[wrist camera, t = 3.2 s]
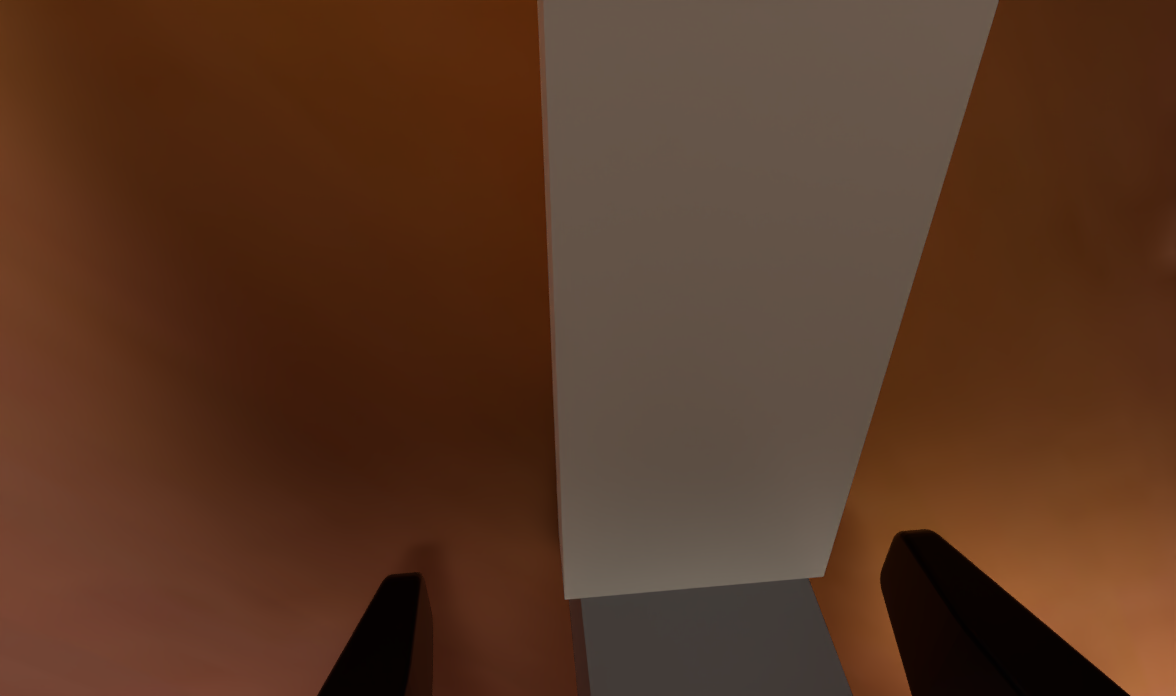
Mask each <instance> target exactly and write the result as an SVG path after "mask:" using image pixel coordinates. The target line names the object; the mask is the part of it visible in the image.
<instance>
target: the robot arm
mask: <svg viewBox="0 0 1176 696" xmlns="http://www.w3.org/2000/svg"><path fill="white" fill-rule="evenodd" d="M880 584H881V590H882V594H883V597H884V601H885V604H886V607H887V611H888V614H889V618H890V621H891V625H892V628H893V632H894V635H895V639H896V642H897V646H898V649H899V652H900V656H901V659H902V663H903V666H904V670H905V673H906V677H907V680H908V684H909V687H910V691H911V694H912V696H1130V695H1129V694H1128V693H1127V692H1125V691H1124V690H1123V689H1122V688H1121V687H1119V686H1118V685H1117V684H1116V683H1115V682H1114V681H1112V680H1111V679H1110V678H1109V677H1108V676H1106V675H1105V674H1104V673H1103V672H1102V671H1100V670H1099V669H1098V668H1097V667H1096V666H1094V665H1093V664H1092V663H1091V662H1090V661H1089V660H1087V659H1086V658H1085V657H1084V656H1083V655H1081V654H1080V653H1079V652H1078V651H1077V650H1075V649H1074V648H1073V647H1072V646H1071V645H1069V644H1068V643H1067V642H1066V641H1065V640H1064V639H1062V638H1061V637H1060V636H1059V635H1058V634H1056V633H1055V632H1054V631H1053V630H1052V629H1050V628H1049V627H1048V626H1047V625H1046V624H1044V623H1043V622H1042V621H1041V620H1040V619H1039V618H1037V617H1036V616H1035V615H1034V614H1033V613H1031V612H1030V611H1029V610H1028V609H1027V608H1025V607H1024V606H1023V605H1022V604H1021V603H1019V602H1018V601H1017V600H1016V599H1015V598H1014V597H1012V596H1011V595H1010V594H1009V593H1008V592H1006V591H1005V590H1004V589H1003V588H1002V587H1000V586H999V585H998V584H997V583H996V582H994V581H993V580H992V579H991V578H990V577H989V576H987V575H986V574H985V573H984V572H983V571H981V570H980V569H979V568H978V567H977V566H975V565H974V564H973V563H972V562H971V561H969V560H968V559H967V558H966V557H965V556H964V555H962V554H961V553H960V552H959V551H958V550H956V549H955V548H954V547H953V546H952V545H950V544H949V543H948V542H947V541H946V540H944V539H943V538H942V537H941V536H940V535H938V534H937V533H935V532H933V531H931V530H927V529H921V530H909V531H901V532H899V533H897V534H896V535H895V536H894V538H893V541H892V543H891V546H890V549H889V551H888V554H887V557H886V559H885V562H884V564H883V567H882V570H881V575H880ZM432 682H433V621H432V613H431V608H430V603H429V598H428V594H427V589H426V585H425V580H424V577H423V576H422V574H421V573H418V572H413V573H402V574H392V575H389V576H387V577H386V578H385V579H384V580H383V582H382V583H381V585H380V587H379V588H378V590H377V592H376V594H375V595H374V597H373V599H372V601H371V602H370V604H369V606H368V608H367V609H366V611H365V613H364V615H363V616H362V618H361V620H360V622H359V623H358V625H357V627H356V629H355V630H354V632H353V634H352V636H351V637H350V639H349V641H348V643H347V644H346V646H345V648H344V650H343V651H342V653H341V655H340V657H339V658H338V660H337V662H336V664H335V665H334V667H333V669H332V671H331V672H330V674H329V676H328V678H327V679H326V681H325V683H324V685H323V686H322V688H321V690H320V692H319V693H318V695H317V696H432Z"/></svg>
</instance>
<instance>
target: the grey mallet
mask: <svg viewBox="0 0 1176 696" xmlns="http://www.w3.org/2000/svg"><path fill="white" fill-rule="evenodd" d="M998 2H999V0H537V5H538V29H539V54H540V79H541V104H542V129H543V154H544V179H545V204H546V229H547V254H548V279H549V304H550V329H551V354H552V379H553V404H554V429H555V454H556V479H557V504H558V529H559V541H560V553H561V564H562V575H563V587H564V598H565V600H567V599H569V607H570V617H571V628H572V639H573V650H574V660H575V671H576V682H577V692H578V696H853V695H852V692H851V689H850V687H849V684H848V682H847V679H846V676H845V674H844V671H843V668H842V666H841V663H840V660H839V658H838V655H837V652H836V650H835V647H834V645H833V642H832V639H831V637H830V634H829V631H828V629H827V626H826V623H825V621H824V618H823V615H822V613H821V610H820V608H819V605H818V602H817V600H816V597H815V594H814V592H813V589H812V586H811V584H810V581H809V579H808V578H814V577H824V573H825V570H826V567H827V563H828V560H829V557H830V554H831V550H832V547H833V544H834V540H835V537H836V534H837V531H838V527H839V524H840V521H841V517H842V514H843V511H844V508H845V504H846V501H847V498H848V494H849V491H850V488H851V485H852V481H853V478H854V475H855V471H856V468H857V465H858V462H859V458H860V455H861V452H862V448H863V445H864V442H865V439H866V435H867V432H868V429H869V425H870V422H871V419H872V416H873V412H874V409H875V406H876V403H877V399H878V396H879V393H880V389H881V386H882V383H883V380H884V376H885V373H886V370H887V366H888V363H889V360H890V357H891V353H892V350H893V347H894V343H895V340H896V337H897V334H898V330H899V327H900V324H901V320H902V317H903V314H904V311H905V307H906V304H907V301H908V297H909V294H910V291H911V288H912V284H913V281H914V278H915V274H916V271H917V268H918V265H919V261H920V258H921V255H922V251H923V248H924V245H925V242H926V238H927V235H928V232H929V228H930V225H931V222H932V219H933V215H934V212H935V209H936V205H937V202H938V199H939V196H940V192H941V189H942V186H943V182H944V179H945V176H946V173H947V169H948V166H949V163H950V160H951V156H952V153H953V150H954V146H955V143H956V140H957V137H958V133H959V130H960V127H961V123H962V120H963V117H964V114H965V110H966V107H967V104H968V100H969V97H970V94H971V91H972V87H973V84H974V81H975V77H976V74H977V71H978V68H979V64H980V61H981V58H982V54H983V51H984V48H985V45H986V41H987V38H988V35H989V31H990V28H991V25H992V22H993V18H994V15H995V12H996V8H997V5H998Z"/></svg>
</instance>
